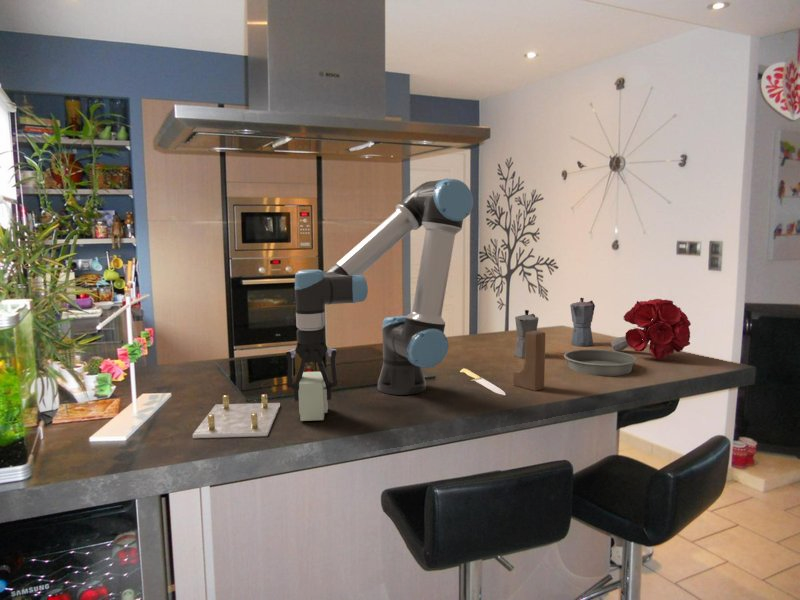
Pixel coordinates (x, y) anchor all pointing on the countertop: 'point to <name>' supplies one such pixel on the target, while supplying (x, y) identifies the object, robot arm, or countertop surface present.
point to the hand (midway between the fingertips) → (313, 411)
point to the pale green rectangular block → (311, 396)
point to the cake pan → (600, 362)
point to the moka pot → (582, 322)
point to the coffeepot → (524, 331)
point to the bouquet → (655, 328)
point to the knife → (483, 382)
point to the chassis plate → (238, 420)
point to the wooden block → (532, 363)
